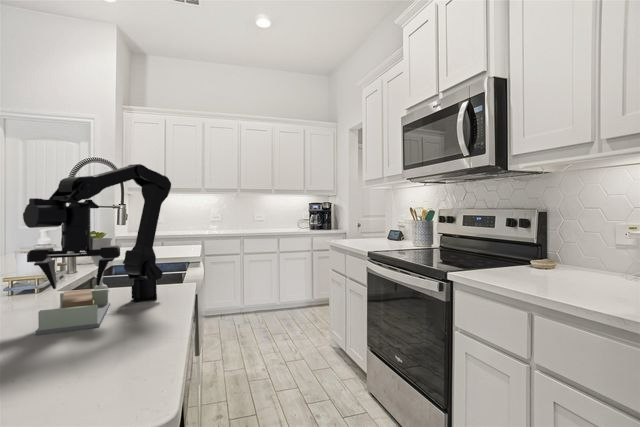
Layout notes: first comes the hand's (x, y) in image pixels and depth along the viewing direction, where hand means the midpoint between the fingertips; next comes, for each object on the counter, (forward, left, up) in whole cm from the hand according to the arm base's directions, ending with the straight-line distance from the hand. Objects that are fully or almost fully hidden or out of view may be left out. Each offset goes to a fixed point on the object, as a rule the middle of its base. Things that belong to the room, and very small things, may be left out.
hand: (77, 287), depth 86 cm
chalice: (-1, -30, -8) cm, 31 cm away
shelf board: (0, 0, -5) cm, 5 cm away
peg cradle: (0, 0, -8) cm, 8 cm away
